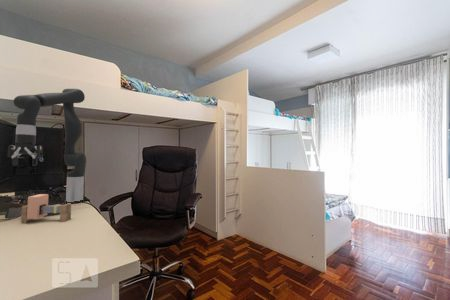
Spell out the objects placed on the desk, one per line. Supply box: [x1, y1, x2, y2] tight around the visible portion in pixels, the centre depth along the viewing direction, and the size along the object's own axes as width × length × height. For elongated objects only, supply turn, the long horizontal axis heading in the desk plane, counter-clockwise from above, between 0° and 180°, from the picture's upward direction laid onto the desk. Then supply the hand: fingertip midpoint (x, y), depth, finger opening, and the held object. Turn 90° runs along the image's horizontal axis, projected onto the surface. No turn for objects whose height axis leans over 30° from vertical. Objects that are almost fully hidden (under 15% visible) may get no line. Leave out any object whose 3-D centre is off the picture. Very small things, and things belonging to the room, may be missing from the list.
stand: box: [20, 203, 72, 224], centre depth 99 cm, size 5×18×8 cm, turn 99°
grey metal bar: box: [39, 204, 62, 213], centre depth 99 cm, size 3×16×3 cm, turn 99°
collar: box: [27, 193, 49, 220], centre depth 99 cm, size 7×4×10 cm, turn 9°
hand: (25, 165), depth 106 cm, fingers open, 8 cm apart
